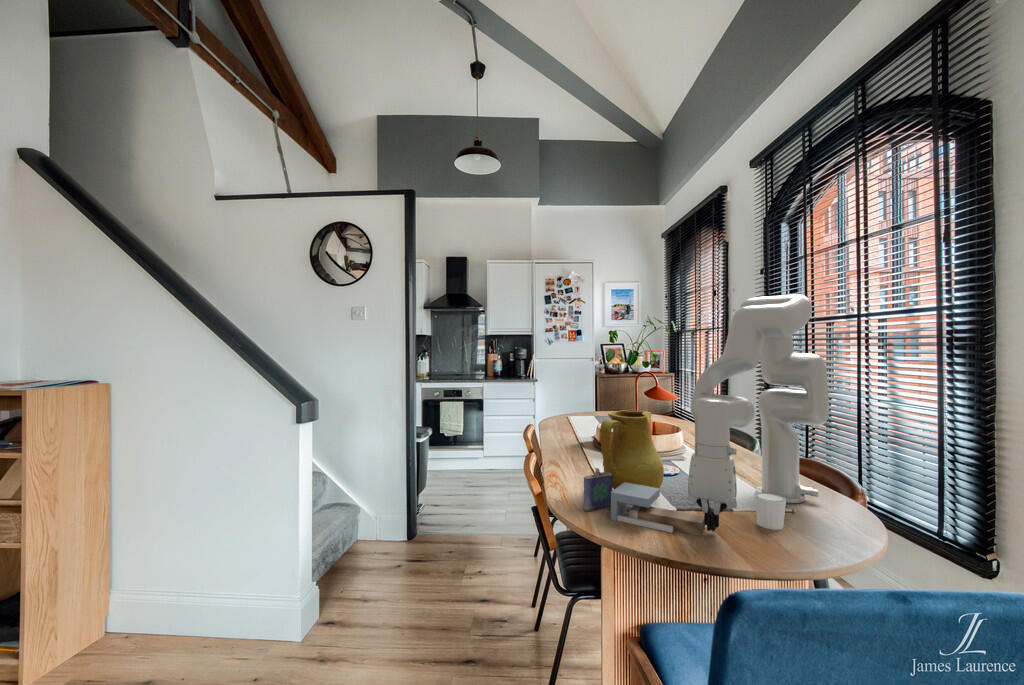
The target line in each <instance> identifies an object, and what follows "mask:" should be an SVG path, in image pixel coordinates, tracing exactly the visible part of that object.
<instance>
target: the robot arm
mask: <svg viewBox="0 0 1024 685" xmlns="http://www.w3.org/2000/svg"><path fill="white" fill-rule="evenodd" d="M812 311H813V307H812V303H811V300H810V299H809V298H808V297H807V296H806V295H804V294H787V295H786V294H785V295H770V296H758V297H752V298H748V299H745V300H743V301H742V303H741V304H740V307H739V308H738V309H737V310H736V311H734V314H733V316H732V318H731V322H730V327H729V330H728V334H727V336H726V337H727V338H726V342H725V344H724V348H723V353H722V355H721V356H720V357H719V358H718V359H716V360H714V362H712V363H711V364H710V365H709V366H708V367H707V368H706V369H705V370H704V371H703V372H702V373H701V374H700V375H699V377H698V379H697V380H696V383H695V386H694V390H693V393H692V398H691V401H690V402H691V403H690V412H691V413H690V414H691V415H692V417H693V419H694V452H693V453H692V454H691V457H690V464H689V471H688V480H687V481H688V482H687V483H688V484H687V491H688V494H687V497H686V498H687V500H688V501H690V502H692V503H696V504H697V505H698V506H699V507H700V508H701V509H702V512H703V514H704V515H703V516H704V525H705V526H706V531H712V532H714V533H715V531H716V530H717V528H719V527H720V513H721V512H723V511H724V510H727V509H730V510H731V509H737V508H738V502H737V485H738V484H737V474H736V465H735V460H734V457H731V455H732V456H733V455H737V452H738V450H737V448H733V447H732V446H731V442H730V440H731V439H730V438H731V432H730V431H731V430H730V429H731V428H738V429H740V428H745V427H747V426H749V425H750V424H751V423H752V422H753V420H754V417H755V414H756V413H755V412H756V411H755V407H754V405H753V403H752V402H751V401H750V400H749V399H748V398H746V397H744V396H743V397H742V396H738V395H736V396H735V395H729V394H727V395H726V394H718V393H717V394H716V393H713V392H714V390H715V389H716V388H717V386H718V385H720V383H722V382H723V381H726V380H728V379H730V378H732V377H735V376H737V375H740V374H743V373H745V372H749V371H751V370H753V369H755V368H756V367H757V366H758V365H759V364H760V370H761V377H762V380H763V381H764V382H765V383H767V384H768V385H772V386H783V387H797V388H803V389H804V390H798V389H797V390H795V389H787V388H785V389H784V388H769V389H765V390H763V391H762V392H761V393H760V394H759V396H758V399H757V406H758V412H759V418H760V426H761V485H760V486H757V487H756V488H755V494H757V493H770V494H775V495H779V496H782V497H784V498H785V499H786V504H800V503H801V504H802V503H804V502H806V496H811V497H814V498H815V497H816V498H818V497H819V490H818V489H813V487H807V486H804V485H801V484H802V483H801V481H800V438H799V436H798V435H799V434H798V433H797V431H796V430H795V428H794V427H793V425H792V424H797V425H804V426H805V425H806V426H817V427H818V426H823V425H824V424H826V423H827V422H828V419H829V415H830V402H829V401H830V400H829V384H828V372H827V366H826V362H825V361H824V359H823V357H821V356H820V355H819V354H818V355H817V354H815V353H807V352H806V353H805V352H804V353H803V352H802V353H801V352H795V349H794V342H793V341H794V340H793V335H794V334H796V333H797V332H799V331H800V330H801V329H802V328H803V327H805V326H806V325H807V324H808V322H809V321H810V319H811V316H812ZM759 362H760V363H759ZM710 501H712V502H714V506H713V509H712V507H711V505H710Z"/></svg>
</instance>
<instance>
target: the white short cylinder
mask: <svg viewBox="0 0 1024 685" xmlns="http://www.w3.org/2000/svg"><path fill="white" fill-rule="evenodd" d="M754 503H755V514H756V515H755V516H756V523H757V525H758V526H759V527H762V528H764V529H767V530H775V531H778V530H783V529H784V524H785V514H786V504H787V503H786V499H785V498H784V497H782V496H779V495H775V494H770V493H757V494H756V493H755V494H754Z"/></svg>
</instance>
